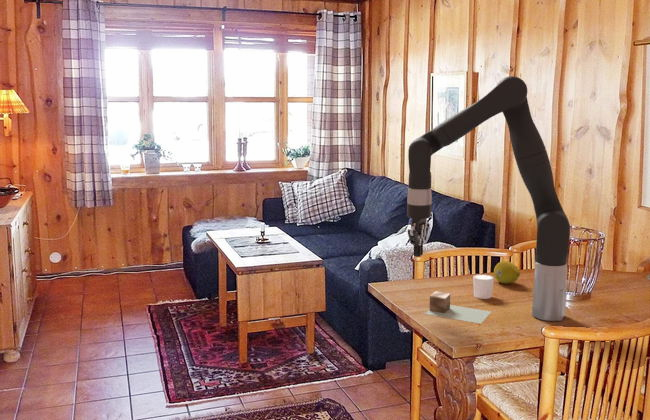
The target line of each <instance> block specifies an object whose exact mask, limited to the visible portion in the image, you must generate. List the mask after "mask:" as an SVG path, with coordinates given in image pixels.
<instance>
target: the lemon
mask: <svg viewBox="0 0 650 420" xmlns="http://www.w3.org/2000/svg"><path fill="white" fill-rule="evenodd" d="M493 275H494V279H496V281H498V283H501V284H505V285H508V284H513V283H515V282H516V281H517V280H518V279H519V278H520V276H521V272H520V270H519V267H518V266H517V265H516V264H514V263H512V262H510V261H507V260H503V261H500V262H498V263H497V264H496V265H495V267H494V269H493Z"/></svg>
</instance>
